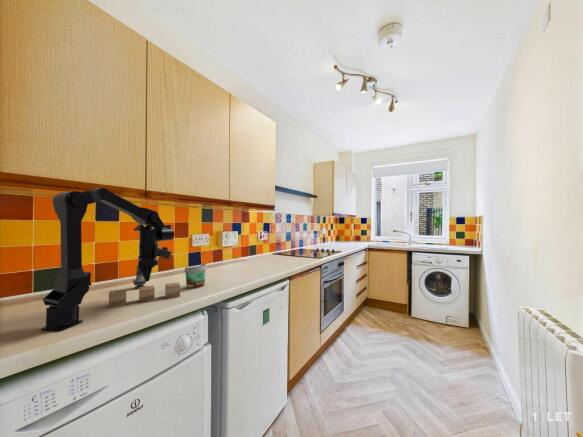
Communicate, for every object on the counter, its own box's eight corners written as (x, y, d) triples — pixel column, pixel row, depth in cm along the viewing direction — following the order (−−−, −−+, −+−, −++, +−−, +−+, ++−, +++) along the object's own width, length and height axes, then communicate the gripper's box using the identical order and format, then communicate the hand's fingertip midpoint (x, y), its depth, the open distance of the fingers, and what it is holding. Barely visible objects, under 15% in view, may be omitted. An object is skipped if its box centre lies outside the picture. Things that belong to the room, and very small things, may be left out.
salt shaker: (130, 289, 108) (130, 263, 108) (135, 286, 114) (135, 261, 114) (144, 288, 110) (145, 263, 110) (148, 285, 115) (149, 261, 116)
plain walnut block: (154, 301, 92) (154, 288, 92) (139, 303, 89) (139, 290, 90) (153, 297, 96) (153, 285, 96) (139, 299, 94) (139, 287, 94)
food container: (195, 290, 107) (195, 268, 107) (184, 289, 109) (184, 267, 109) (212, 284, 118) (212, 264, 119) (202, 283, 120) (202, 263, 121)
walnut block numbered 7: (125, 305, 87) (125, 291, 87) (108, 308, 84) (108, 293, 84) (126, 301, 91) (126, 288, 91) (109, 304, 88) (110, 290, 89)
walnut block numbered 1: (180, 296, 97) (180, 284, 97) (166, 299, 94) (166, 286, 95) (178, 294, 101) (178, 281, 102) (165, 296, 99) (165, 283, 99)
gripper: (173, 242, 90) (172, 283, 90) (167, 240, 106) (167, 274, 105) (138, 243, 84) (138, 287, 84) (138, 241, 100) (137, 277, 99)
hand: (147, 281), depth 93 cm, fingers closed
